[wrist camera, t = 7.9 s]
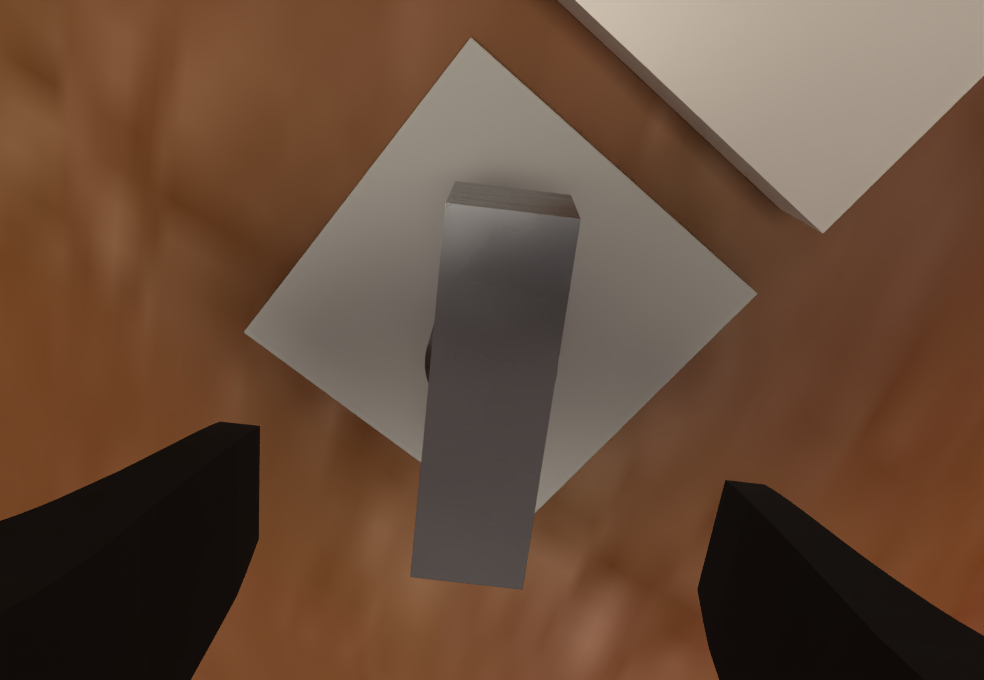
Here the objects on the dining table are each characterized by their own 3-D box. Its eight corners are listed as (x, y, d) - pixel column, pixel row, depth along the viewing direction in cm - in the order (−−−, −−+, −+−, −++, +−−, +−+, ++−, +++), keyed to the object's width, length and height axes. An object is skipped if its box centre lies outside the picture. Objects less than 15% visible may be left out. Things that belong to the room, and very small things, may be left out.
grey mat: (750, 287, 21) (757, 293, 21) (515, 520, 24) (515, 532, 23) (471, 37, 19) (470, 37, 19) (250, 325, 22) (243, 332, 21)
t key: (530, 445, 22) (536, 590, 16) (428, 433, 22) (396, 575, 16) (571, 170, 20) (598, 221, 13) (455, 155, 20) (428, 201, 13)
